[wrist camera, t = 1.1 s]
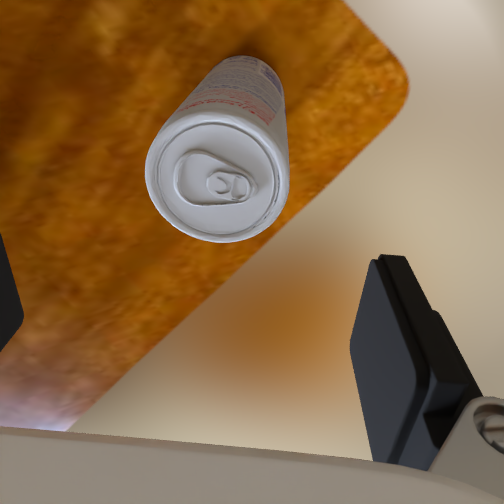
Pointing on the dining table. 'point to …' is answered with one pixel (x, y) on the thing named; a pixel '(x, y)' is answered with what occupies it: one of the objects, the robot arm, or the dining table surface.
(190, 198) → the beverage can
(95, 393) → the dining table surface
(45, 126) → the dining table surface
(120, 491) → the robot arm
